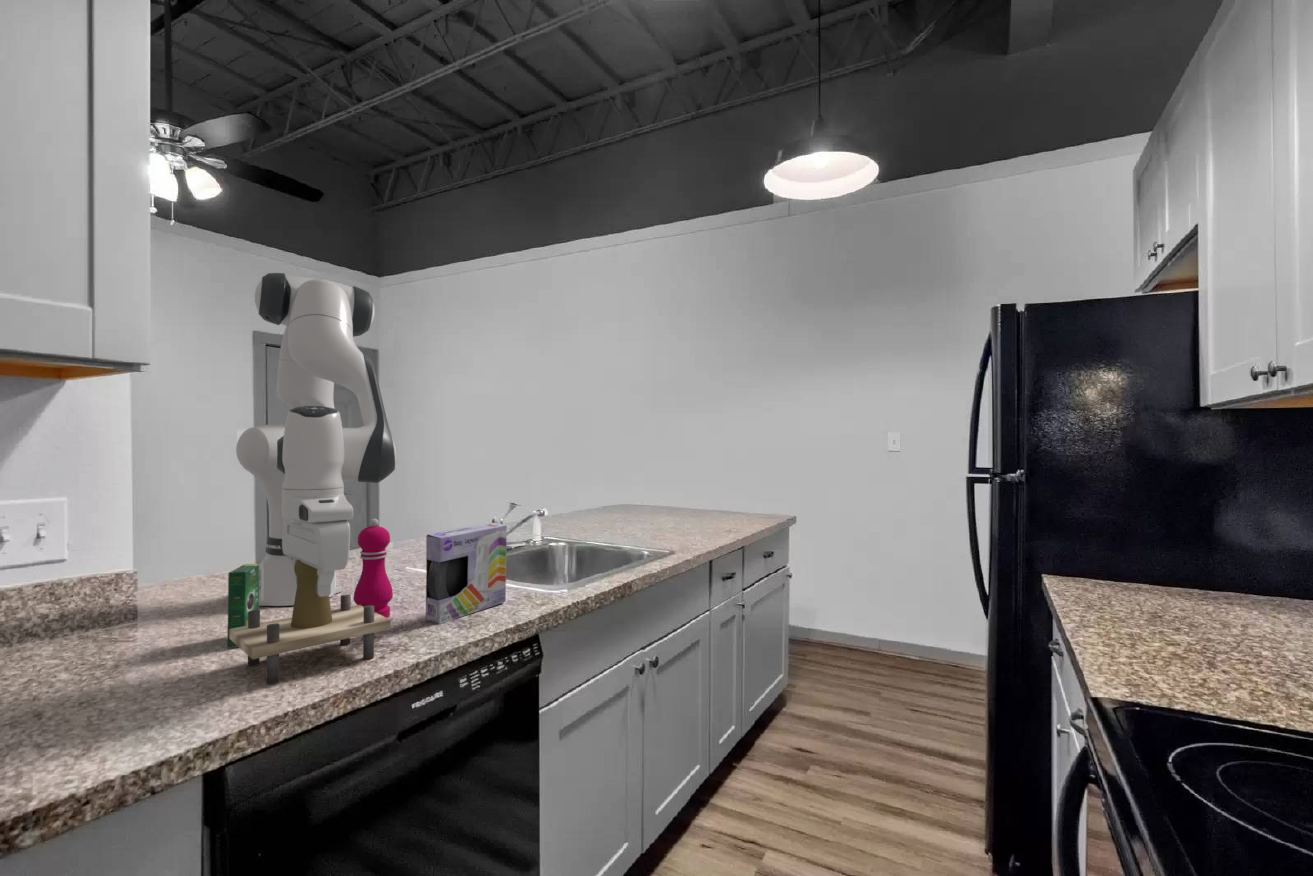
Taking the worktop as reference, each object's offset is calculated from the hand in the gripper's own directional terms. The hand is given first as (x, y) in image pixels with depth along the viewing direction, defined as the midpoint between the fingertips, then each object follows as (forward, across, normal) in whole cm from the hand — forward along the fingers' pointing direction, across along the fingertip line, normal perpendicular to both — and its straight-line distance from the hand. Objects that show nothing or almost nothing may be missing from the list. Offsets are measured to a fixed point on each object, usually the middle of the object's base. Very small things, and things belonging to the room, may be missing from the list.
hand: (312, 590), depth 101 cm
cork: (+6, -1, 0) cm, 6 cm away
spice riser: (+12, 0, 0) cm, 12 cm away
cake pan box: (+12, -8, +32) cm, 35 cm away
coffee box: (+12, -20, -5) cm, 23 cm away
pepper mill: (+12, -18, +17) cm, 27 cm away
